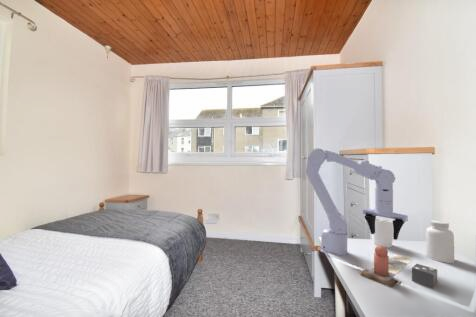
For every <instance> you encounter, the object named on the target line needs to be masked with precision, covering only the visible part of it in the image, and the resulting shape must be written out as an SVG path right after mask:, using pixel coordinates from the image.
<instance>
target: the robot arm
mask: <svg viewBox="0 0 476 317" xmlns="http://www.w3.org/2000/svg"><path fill="white" fill-rule="evenodd" d="M325 161H326V163H331V162H334V163H336V164H339V165H342V166H345V167H347V168H351V169H353V170H354V173H355V174H356V175H359V176H361V177H364V178H366V179H368V180H370V181H374V182H375V189H374V191H375V192H374V196H375V197H374V200H375V201H374V204H375V206H374V208H375V209H371V208H363V209H362V214H363V215H364V219H365V220H366V223H367V225H368V228H369V230H370V231H369V232H370V234H371V235H372V234H374V233H375V219H376V218H377V217H379V218H386V219H390V220H393V228H394V234H393V240H395V241H396V240H398V238H399V234H400V232H401V229H402V227H403V225H404V224H405V222H408V220H409V218H408V217H409V216H408V215H407V214H401V213H397V212H394V188H393V186H394V185H393V184H394V183H395V182H396V177H395V174H394V173H393V172H392V171H391V170H389V169H385V168H383V167H382V166H381V165H378V166H377V165H375V164H373V163H370V161H369V160H367V159H366V160H359V161H355V160H353V159H351V158H348V157H346V156H344V155H341V154H339V153H336V152H333V151H331V150H330V151H329V150H325V149H324V150H323V149H322V148H319V147H317V148H314V149H312V150H311V151H310V153H309V155H308V156H307V161H306V162H307V163H306V169H305V174H306V176H307V178H308V180H309V182H310V184H311V186H312V188H313V190H314V192H315V193H316V196H317V197H318V200H319V202H320V203H321V205H322V207H323V210H324V211H325V214H326V217H327V219H328V221H329V228H325V229H323V231H322V232H321V240H320V241H321V243H320V244H321V246H320V252H321V253H324V254H327V253H328V252H329V253H332V254H334V255H338V256H345V255H347V254H348V231H347V229H348V224H347V222H346V218H345V216H344V215H343V214H341V213H340V211H339V210H338V208H337V206H336V204H335V203H334V200H333V198H332V197H331V194H330V193H329V191H328V189H327V187H326V184H325V183H324V181H323V180H322V178H321V176H320V174H319V173H320V172H319V171H320V168H321V166H322V165H323V164H324V162H325Z"/></svg>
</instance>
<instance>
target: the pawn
mask: <svg viewBox="0 0 476 317" xmlns="http://www.w3.org/2000/svg"><path fill="white" fill-rule="evenodd" d="M389 257H390V256H389V251H388V248H387V247H384V246H377V245H376V247H375V248H374V254H373V268H374V273H375V274H377V275H379V276H383V277H387V276H389Z"/></svg>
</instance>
